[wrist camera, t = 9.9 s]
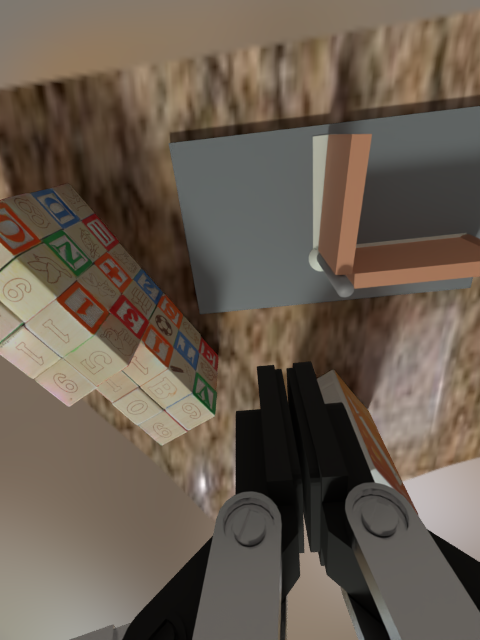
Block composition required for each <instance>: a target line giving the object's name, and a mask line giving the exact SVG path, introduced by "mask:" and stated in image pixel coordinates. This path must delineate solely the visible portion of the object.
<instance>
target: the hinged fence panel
mask: <svg viewBox="0 0 480 640" xmlns="http://www.w3.org/2000/svg"><path fill="white" fill-rule="evenodd" d="M371 138H372V134H331V135H328V146H327V157H326V168H325V180H324V191H323V202H322V213H321V224H320V235H319V246H318V251H319V252H320V253H319V254H318V255H317V262H318V263H319V265H320V266H321V268H322V269H323V271H324V273H325V274H326V276H327V277H328V279H329V280H330V282H331V284H332V285H333V287H334V288H335V290H336V291H337V293H338V295H339V296H341V297H348V296H350V295H351V294H352V293H353V292H354V286H353V284H352V283H351V282H350V280H349V279H348V278H347V276H346V275H352V270H353V263H354V256H355V249H356V242H357V235H358V228H359V221H360V214H361V208H362V201H363V194H364V187H365V180H366V173H367V166H368V159H369V152H370V145H371Z"/></svg>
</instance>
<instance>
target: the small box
mask: <svg viewBox="0 0 480 640" xmlns="http://www.w3.org/2000/svg"><path fill="white" fill-rule="evenodd" d="M317 381H318V384H319V387H320V390H321V393H322V397H323V400H324V403H325V404H327V403H339V402H342V403H343V404H344V406H345V408H346V411H347V413H348V416H349V418H350V421H351V423H352V426H353V428H354V431H355V433H356V436H357V438H358V441H359V444H360V446H361V449H362V451H363V454H364V456H365V459H366V461H367V464H368V466H369V469H370V471H371V474H372V476H373V479H374V481H375V483H380V484H384V485H387V486H389V487H391V488H393V489H395V490H396V491H398V492H399V493H400V494H402V495H403V496H404V497H405V498H406V499H407V501H408V502H409V503H410V504H411V505H412V507H413V508H414V510H415V512H416V513H417V511H416V509H415V507H414V505H413V503H412V501H411V499H410V497H409V495H408V493H407V490H406V488H405V486H404V484H403V482H402V480H401V478H400V476H399V474H398V472H397V469H396V467H395V465H394V463H393V461H392V459H391V457H390V455H389V453H388V451H387V449H386V447H385V444H384V442H383V440H382V438H381V436H380V434H379V432H378V429H377V427H376V425H375V423H374V421H373V419H372V417H371V415H370V413H369V411H368V410H367V408H366V407H365V406H364V405H363V404H362V403H361V402H360V401H359V400H358V398H357V397H356V396H355V395H354V394H353V392H352V391H351V390H350V389H349V388H348V386H347V385H346V384H345V383H344V381H343V380H342V379H341V378H340V376H339V375H338V374H337V373H336V371H335V370H331V371H329V372H328V373H326V374H324V375H323V376H321V377H319V378H317ZM417 515H418V513H417Z"/></svg>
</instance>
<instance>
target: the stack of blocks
mask: <svg viewBox="0 0 480 640" xmlns="http://www.w3.org/2000/svg"><path fill="white" fill-rule="evenodd" d="M0 355H1V356H3V357H4V358H5V359H7V360H8V361H9V362H11V363H12V364H13V365H14V366H16V367H17V368H18V369H20V370H21V371H22V372H24V373H25V374H26V375H27V376H28V377H30V378H33V379H35V380H36V382H37V383H38V384H40V385H41V386H42V387H44V388H45V389H46V390H47V391H49V392H50V393H52V394H53V395H54V396H55V397H56V398H58V399H59V400H60V401H62V402H63V403H64V404H66V405H67V406H71V405H72V404H74V403H75V402H77V401H78V400H80V399H81V398H83V397H84V396H86V395H87V394H88V393H90V392H91V391H93V390H94V389H96V390H97V391H99V392H100V393H101V394H102V395H103V396H104V397H106V398H107V399H108V400H109V401H110V402H112V404H113V405H114V406H115V407H116V408H117V409H118V410H119V411H121V412H122V413H123V414H124V415H125V416H126V417H128V418H129V419H130V420H131V421H132V422H133V423H135V424H136V425H139V426H140V428H142V429H143V430H144V431H145V432H146V433H147V434H149V435H150V436H151V437H152V438H153V439H154V440H155V441H157V442H158V443H159V444H160V445H164V444H165V443H167V442H169V441H171V440H173V439H175V438H176V437H178V436H180V435H182V434H184V433H186V432H187V431H188V430H190V429H192V428H194V427H196V426H198V425H199V424H201V423H203V422H205V421H207V420H208V419H210V418H212V417H214V416H215V411H216V398H217V392H216V386H217V374H218V373H217V368H218V355H217V354H216V353H215V352H214V350H213V349H212V348H211V347H210V346H209V345H208V344H207V343H206V341H204V339H203V338H202V337H201V335H200V333H199V332H198V331H197V330H196V329H195V328H194V327H193V326H192V324H191V323H190V322H189V321H188V320H187V319H186V318H185V317H184V316H183V314H182V313H181V312H180V310H179V309H178V308H177V307H176V306H175V305H174V304H173V302H172V301H171V300H170V299H169V298H168V297H167V295H166V294H165V293H163V292H162V291H161V290H160V288H159V287H158V286H157V285H156V284H155V283H154V282H153V281H152V279H151V278H150V277H149V276H148V275H147V274H146V273H145V271H144V270H143V269H141V267H140V266H139V265H138V264H137V263H136V261H135V260H134V259H133V258H132V257H131V256H130V255H129V254H128V252H127V251H126V250H125V249H124V248H123V247H122V246H121V244H120V243H119V241H118V240H117V239H116V238H115V236H114V235H113V234H112V233H111V232H110V231H109V230H108V228H107V227H106V226H105V225H104V224H103V223H102V221H101V220H100V219H99V218H98V217H97V216H96V215H95V214H94V212H93V211H92V210H91V208H90V207H89V206H88V205H87V204H86V203H85V201H84V200H83V199H82V198H81V197H80V196H79V194H78V193H77V192H76V191H75V190H74V189H73V188H72V186H71V185H70V184H68V183H67V184H63V185H60V186H56V187H52V188H51V189H45V190H41V191H37V192H33V193H30V194H28V193H25V194H20V195H17V196H13V197H8V198H5V199H2V200H0Z"/></svg>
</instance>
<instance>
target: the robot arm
mask: <svg viewBox="0 0 480 640" xmlns="http://www.w3.org/2000/svg"><path fill="white" fill-rule="evenodd" d="M257 374H258V385H259V397H260V408H261V409H257V410H245V411H236V495H234V496H233V497H231V498H230V499H229V500H227V501H226V502H225V503H224V505H223V506H222V507H221V509H220V511H219V513H218V516H217V519H216V524H215V529H214V534H213V536H212V537H211V538H210V539H209V540H208V541H207V542H206V543H205V545H204V546H203V547H202V548H201V549H200V550H199V551H198V552H197V553H196V554H195V555H194V556H193V557H192V558H191V559H190V560H189V561H188V562H187V563H186V564H185V565H184V567H183V568H182V569H181V570H180V571H179V572H178V573H177V574H176V575H175V576H174V577H173V578H172V579H171V580H170V581H169V582H168V583H167V584H166V585H165V587H164V588H163V589H162V590H161V591H160V592H159V593H158V594H157V595H156V596H155V597H154V598H153V599H152V600H151V601H150V602H149V603H148V604H147V605H146V606H145V607H144V608H143V610H142V611H141V612H140V613H139V614H138V615H137V616H136V617H135V619H134V620H133V621H132V623H129V624H126V625H124V626H120V627H118V628H115V626H114V625H111V626H107V627H105V628H102V629H99V630H96V631H93V632H90V633H88V634H85V635H82V636H79V637H77V638H73V639H71V640H287V594H288V593H289V591H290V590H291V588H292V587H293V586H294V584H295V583H296V581H297V580H298V578H299V577H300V562H299V553H304V524H303V513H304V519H305V525H306V530H307V536H308V541H309V546H310V551H311V552H318V554H319V558H320V564H321V566H325V568H326V573H327V575H328V576H329V577H330V578H331V579H332V580H334V581H335V582H336V583H337V584H338V585H339V586H341V591H342V595H343V598H344V601H345V603H346V606H347V609H348V612H349V614H350V617H351V620H352V623H353V626H354V628H355V631H356V634H357V637H358V639H359V640H480V562H478V561H477V560H475V559H474V558H472V557H470V556H469V555H467V554H466V553H464V552H463V551H461V550H459V549H458V548H456V547H455V546H453V545H451V544H450V543H448V542H447V541H445V540H443V539H442V538H440V537H439V536H437V535H435V534H434V533H432V532H431V531H429V530H427V529H426V527H425V526H424V524H423V523H422V521H421V520H420V518H419V516H418V515H417V513H416V512H415V510H414V508H413V507H412V505H411V504H410V503H409V502H408V501H407V499H406V498H405V497H404V496H403V495H402V494H400V493H399V492H398V491H396V490H395V489H393V488H391V487H389V486H387V485H384V484H380V483H375V481H374V479H373V476H372V474H371V471H370V469H369V466H368V464H367V461H366V459H365V456H364V454H363V451H362V449H361V446H360V444H359V441H358V438H357V436H356V433H355V431H354V428H353V426H352V423H351V421H350V418H349V416H348V413H347V411H346V408H345V406H344V404H343V403H342V402H339V403H327V404H325V403H324V400H323V397H322V393H321V390H320V387H319V384H318V381H317V378H316V375H315V372H314V369H313V366H312V363H311V362H301V363H293V368H287V390H288V401H287V395H286V390H285V385H284V380H283V375H282V370H281V369H275V367H274V365H268V366H257Z"/></svg>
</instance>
